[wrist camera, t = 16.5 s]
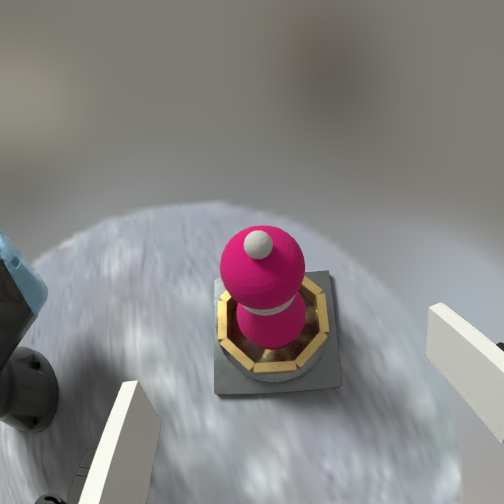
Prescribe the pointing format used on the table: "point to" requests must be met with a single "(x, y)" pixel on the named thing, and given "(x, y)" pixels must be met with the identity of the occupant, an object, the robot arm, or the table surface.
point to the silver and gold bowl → (281, 360)
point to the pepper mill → (265, 285)
